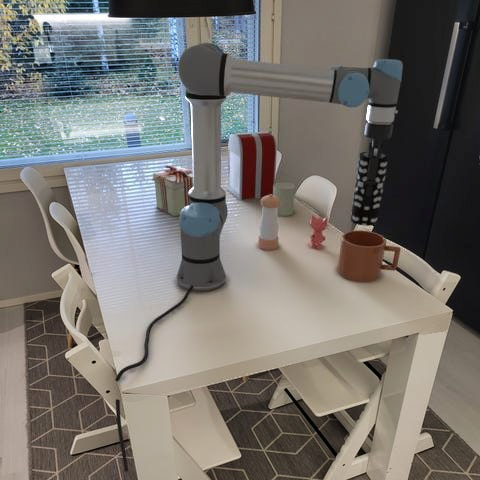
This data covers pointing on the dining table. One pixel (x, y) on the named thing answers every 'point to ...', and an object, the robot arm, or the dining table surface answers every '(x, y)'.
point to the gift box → (173, 189)
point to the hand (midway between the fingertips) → (366, 201)
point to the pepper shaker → (269, 223)
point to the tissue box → (251, 164)
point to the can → (284, 197)
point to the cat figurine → (317, 231)
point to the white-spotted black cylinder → (359, 212)
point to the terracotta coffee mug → (364, 256)
